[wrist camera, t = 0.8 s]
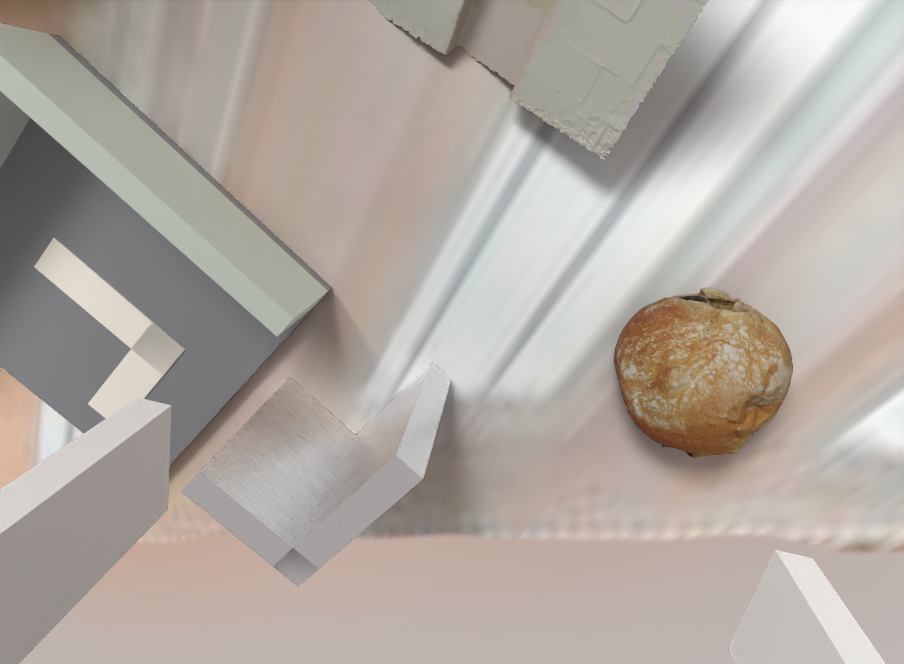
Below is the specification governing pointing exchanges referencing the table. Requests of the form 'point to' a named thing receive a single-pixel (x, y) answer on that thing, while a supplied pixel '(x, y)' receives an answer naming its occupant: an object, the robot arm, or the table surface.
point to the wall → (560, 52)
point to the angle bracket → (318, 472)
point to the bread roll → (702, 371)
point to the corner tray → (126, 254)
